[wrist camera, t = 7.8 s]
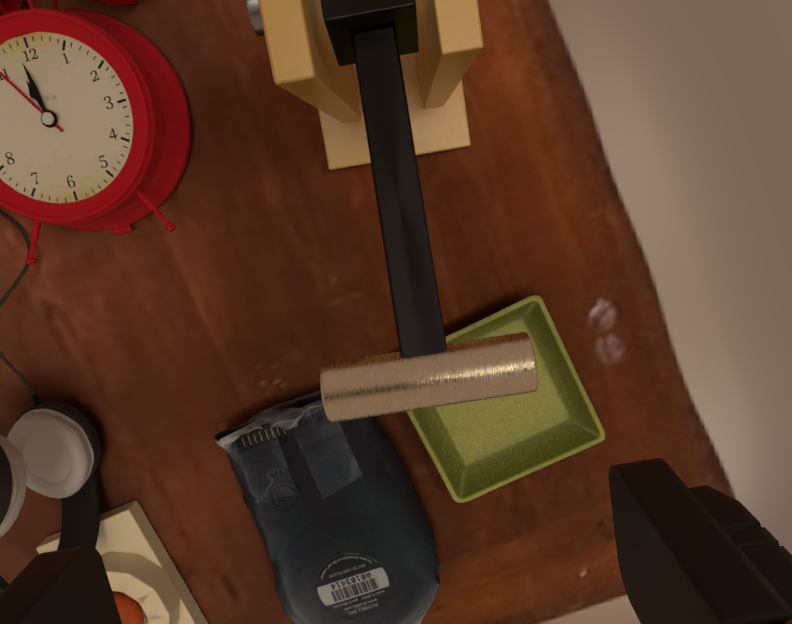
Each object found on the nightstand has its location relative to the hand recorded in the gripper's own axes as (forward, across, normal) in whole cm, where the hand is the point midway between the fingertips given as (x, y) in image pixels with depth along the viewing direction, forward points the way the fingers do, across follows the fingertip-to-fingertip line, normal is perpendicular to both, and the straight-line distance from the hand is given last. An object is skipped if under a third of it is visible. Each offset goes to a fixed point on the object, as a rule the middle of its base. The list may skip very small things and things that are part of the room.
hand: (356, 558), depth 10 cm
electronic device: (+25, +5, +13) cm, 29 cm away
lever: (+9, -1, -5) cm, 10 cm away
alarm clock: (+25, +14, -12) cm, 31 cm away
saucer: (+25, -4, +7) cm, 27 cm away
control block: (+25, +18, +16) cm, 35 cm away
